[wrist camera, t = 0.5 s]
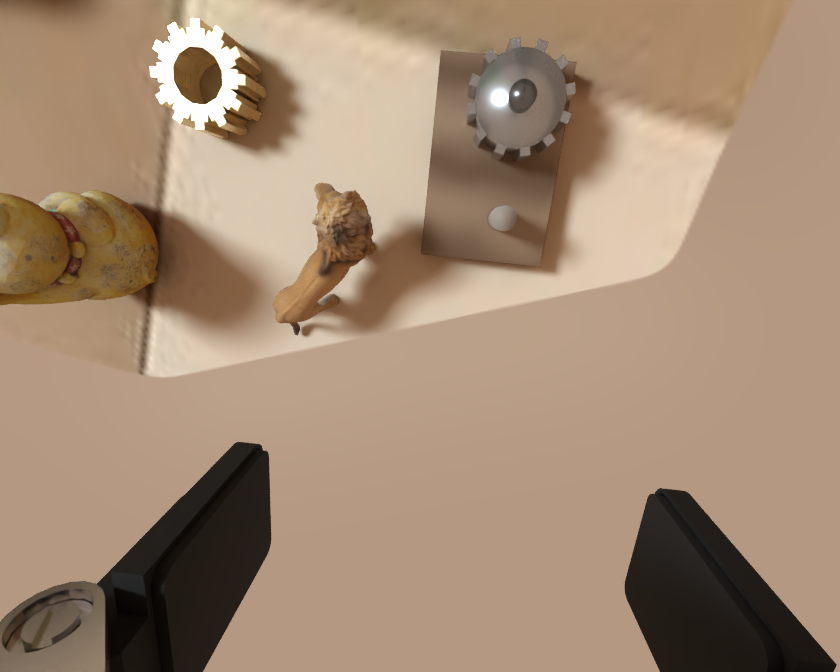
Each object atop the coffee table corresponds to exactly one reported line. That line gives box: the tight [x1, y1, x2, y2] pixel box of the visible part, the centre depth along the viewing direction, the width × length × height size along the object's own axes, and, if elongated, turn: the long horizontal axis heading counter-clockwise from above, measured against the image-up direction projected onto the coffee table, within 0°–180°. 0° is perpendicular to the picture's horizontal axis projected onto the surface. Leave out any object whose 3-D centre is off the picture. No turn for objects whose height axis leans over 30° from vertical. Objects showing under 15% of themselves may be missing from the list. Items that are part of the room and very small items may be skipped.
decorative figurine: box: [0, 190, 159, 305], centre depth 32 cm, size 10×8×15 cm
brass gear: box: [150, 18, 266, 138], centre depth 33 cm, size 7×7×4 cm
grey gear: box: [465, 37, 576, 162], centre depth 29 cm, size 7×7×4 cm
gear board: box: [421, 50, 577, 267], centre depth 32 cm, size 15×10×6 cm, turn 174°
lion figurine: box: [273, 183, 375, 335], centre depth 34 cm, size 15×5×9 cm, turn 149°
